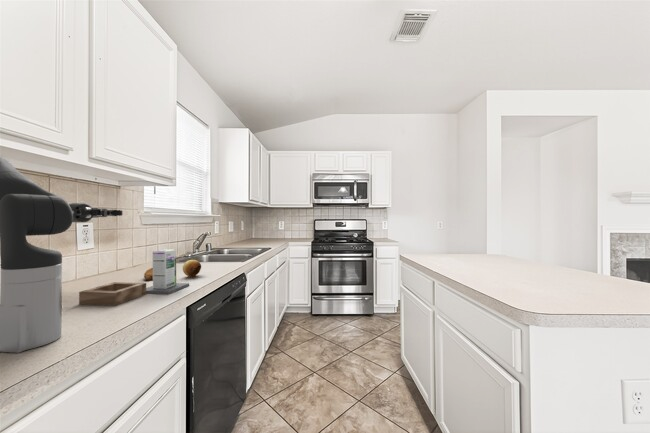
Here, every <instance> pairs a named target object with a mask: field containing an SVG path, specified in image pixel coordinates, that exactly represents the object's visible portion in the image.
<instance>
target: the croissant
mask: <svg viewBox="0 0 650 433" xmlns="http://www.w3.org/2000/svg"><path fill="white" fill-rule="evenodd" d="M143 277H144V279H145V281H147V282H148V281H151V280H152V281H153V267H151V268H149V269H147V270H146V271H145V272H144V274H143Z"/></svg>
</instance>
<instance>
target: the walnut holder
mask: <svg viewBox="0 0 650 433" xmlns="http://www.w3.org/2000/svg"><path fill="white" fill-rule="evenodd" d="M146 288H147V283H146V282H126V281H125V282H120V281H118V282H117V281H112V282H110V283H107V284H104V285H100V286H99V285H98V286H95V287H92V288H89V289H84V290H82V291H80V290H79V292H78V296H79V297H78V304H79V305H90V306H91V305H94V306H97V305H98V306H117V305H118V306H119V305H121V304H123V303H126V302H128V301H131V300H134V299H137V298H139V297H142V296H145V295H147V293H146Z"/></svg>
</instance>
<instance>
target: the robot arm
mask: <svg viewBox="0 0 650 433" xmlns="http://www.w3.org/2000/svg"><path fill="white" fill-rule="evenodd" d="M118 216H119V217H121V216H123V210H122V209H118V210H117V209H108V208H98V207H92V206H91V205H90V204H88V203H85V202H68V201H67V200H66V199H65V198H63V197H62V196H59V195H57V194H54V193H53V192H50V191H48V190H47V189H45V188H43V187H42V186H40V185H39V184H37V183H36V182H35V181H33V179H31V178H30V177H28V176H27V175H25V174H24V173H22V172H20V171H18V170H17V169H16V167H15V166H14V165H13V164H12V163H11V162H9V161H8V160H7V159H6V158H4V157H3V156H1V155H0V353H2V352H3V353H22V352H24V351H26V350H33V349H35V348H39V347H41V346H42V347H43V346H45V345H48V344H50V343H53V342H56V341H57V340H59V339H60V338H61V337H62V322H63V320H62V315H63V314H62V311H63V309H62V306H63V304H62V301H63V298H62V294H63V292H62V290H63V286H62V285H63V280H62V279H63V254H62V252H60V251H58V250H55V249H48V248H42V247H39V246H36V245H33V244H31V243H29V242H28V240H27V237H28V236H33V237H34V236H51V235H58V234H62V233H64V232H67V230H69V229H70V228H71V226H72V224H73V223H87V222H89V221H91V220H92V218H93V219H96V218H107V217H118Z"/></svg>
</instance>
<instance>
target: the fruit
mask: <svg viewBox="0 0 650 433" xmlns="http://www.w3.org/2000/svg"><path fill="white" fill-rule="evenodd" d="M201 269H202V264H201V262H200V261H199V260H196V259H190V260H187V261H186V262H184V264H183V265H182V272H183V274H184V275H185V276H187V277H191V278H192V277H193V278H194V277H196V276H197V275H198V274H199V273H200V271H201Z"/></svg>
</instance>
